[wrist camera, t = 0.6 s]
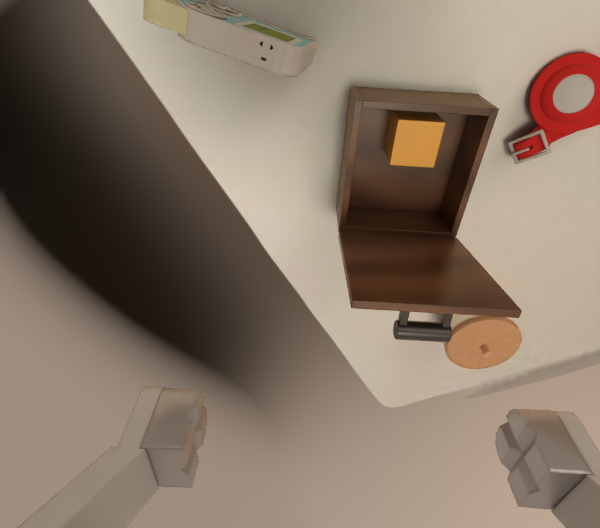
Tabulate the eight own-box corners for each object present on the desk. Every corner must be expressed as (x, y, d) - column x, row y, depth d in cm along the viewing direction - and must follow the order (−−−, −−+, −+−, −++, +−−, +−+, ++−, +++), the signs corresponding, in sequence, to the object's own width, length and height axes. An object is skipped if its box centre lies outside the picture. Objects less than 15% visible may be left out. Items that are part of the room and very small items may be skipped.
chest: (350, 86, 44) (355, 99, 39) (478, 94, 45) (499, 108, 39) (336, 208, 54) (338, 232, 49) (442, 214, 54) (455, 238, 49)
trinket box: (515, 304, 63) (543, 349, 55) (464, 341, 68) (483, 386, 61) (469, 274, 60) (492, 316, 52) (419, 315, 65) (433, 359, 57)
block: (390, 107, 45) (398, 119, 41) (434, 109, 45) (445, 122, 41) (383, 149, 48) (389, 165, 44) (423, 152, 48) (433, 167, 44)
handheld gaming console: (185, -12, 41) (319, 37, 42) (182, 18, 43) (311, 65, 43) (130, -17, 32) (302, 46, 32) (129, 22, 34) (293, 81, 34)
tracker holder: (545, 45, 41) (653, 56, 39) (532, 51, 45) (630, 61, 43) (506, 164, 45) (601, 178, 43) (498, 159, 49) (584, 173, 47)
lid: (352, 300, 33) (345, 347, 35) (522, 310, 33) (505, 356, 36) (338, 230, 48) (335, 267, 50) (457, 237, 48) (448, 273, 50)
